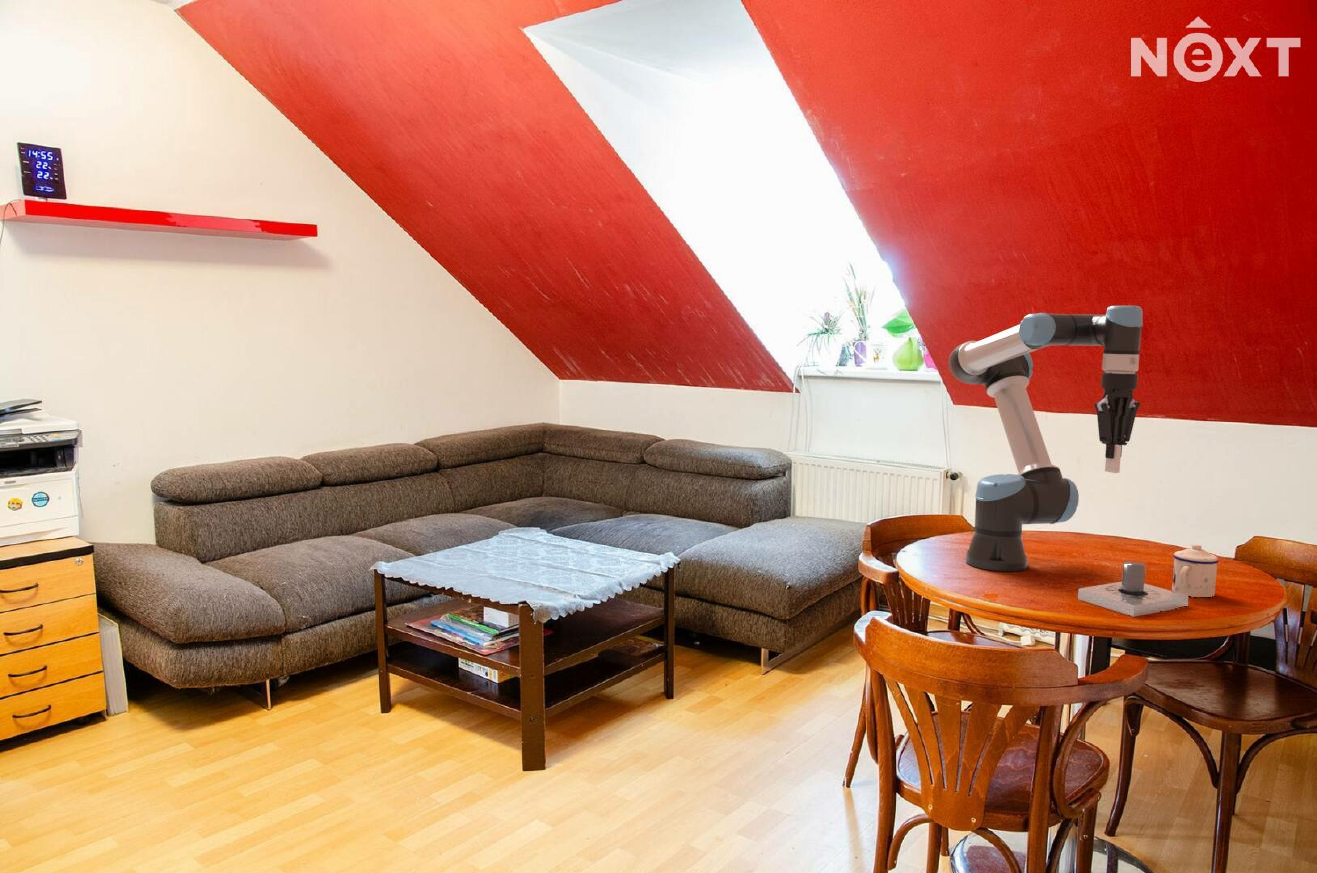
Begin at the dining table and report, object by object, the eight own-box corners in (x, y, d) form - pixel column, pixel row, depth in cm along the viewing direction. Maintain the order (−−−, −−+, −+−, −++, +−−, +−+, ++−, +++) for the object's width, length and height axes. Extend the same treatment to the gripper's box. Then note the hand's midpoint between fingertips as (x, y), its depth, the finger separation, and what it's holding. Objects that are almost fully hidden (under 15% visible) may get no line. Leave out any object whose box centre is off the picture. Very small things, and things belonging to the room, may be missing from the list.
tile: (1077, 599, 205) (1078, 588, 205) (1130, 590, 213) (1131, 580, 213) (1133, 616, 193) (1134, 605, 192) (1187, 606, 200) (1188, 595, 200)
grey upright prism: (1116, 601, 204) (1118, 562, 203) (1129, 599, 206) (1132, 560, 205) (1133, 606, 200) (1136, 567, 199) (1147, 604, 202) (1149, 565, 201)
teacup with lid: (1179, 585, 217) (1183, 538, 216) (1221, 594, 210) (1225, 545, 209) (1159, 594, 210) (1163, 545, 208) (1202, 603, 203) (1206, 553, 201)
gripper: (1114, 373, 203) (1106, 476, 206) (1153, 372, 209) (1145, 472, 212) (1086, 371, 210) (1079, 471, 213) (1124, 371, 216) (1116, 468, 219)
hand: (1112, 471), depth 212 cm, fingers closed
